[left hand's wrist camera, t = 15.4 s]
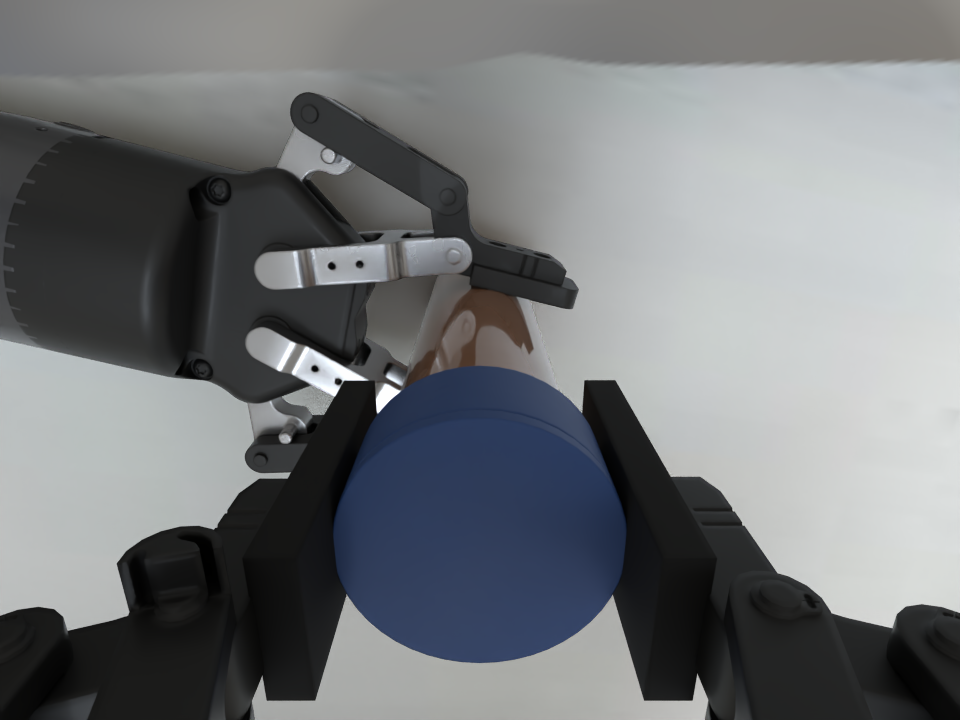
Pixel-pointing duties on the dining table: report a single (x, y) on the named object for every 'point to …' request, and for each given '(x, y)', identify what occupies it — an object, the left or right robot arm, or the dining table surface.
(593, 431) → the left robot arm
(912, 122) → the dining table surface
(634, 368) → the dining table surface
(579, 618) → the lid
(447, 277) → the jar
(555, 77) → the dining table surface
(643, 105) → the dining table surface
